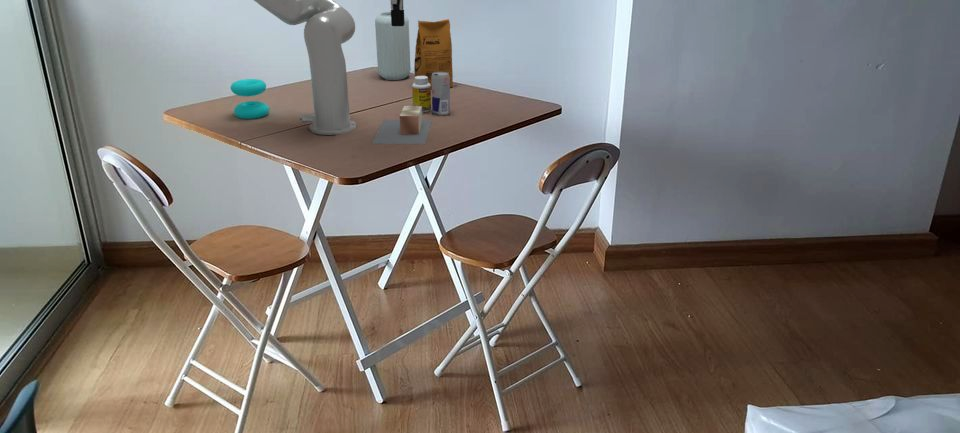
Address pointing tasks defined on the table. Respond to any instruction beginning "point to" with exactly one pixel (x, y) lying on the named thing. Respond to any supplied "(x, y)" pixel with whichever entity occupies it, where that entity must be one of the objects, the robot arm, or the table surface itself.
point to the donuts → (251, 107)
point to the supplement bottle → (422, 93)
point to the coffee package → (433, 49)
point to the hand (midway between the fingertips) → (398, 25)
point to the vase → (392, 47)
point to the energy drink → (440, 93)
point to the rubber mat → (391, 134)
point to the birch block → (411, 120)
